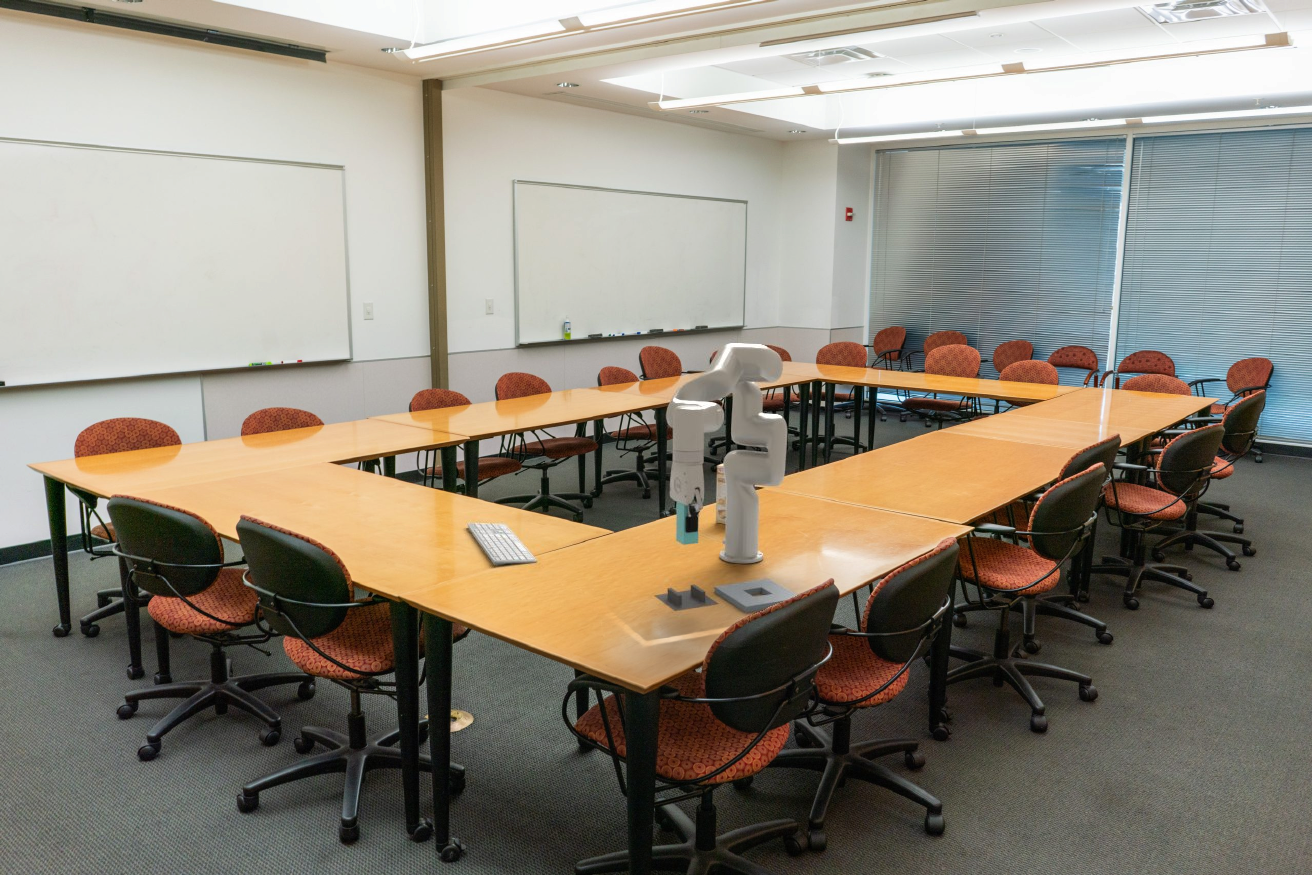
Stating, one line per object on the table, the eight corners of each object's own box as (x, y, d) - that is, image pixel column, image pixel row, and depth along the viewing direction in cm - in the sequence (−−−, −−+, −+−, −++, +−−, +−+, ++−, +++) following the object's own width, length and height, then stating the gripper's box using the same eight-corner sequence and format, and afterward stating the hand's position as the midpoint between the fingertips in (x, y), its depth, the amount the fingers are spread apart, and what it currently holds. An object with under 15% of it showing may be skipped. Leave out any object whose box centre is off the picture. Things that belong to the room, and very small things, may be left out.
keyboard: (537, 564, 263) (537, 556, 263) (494, 568, 259) (494, 560, 258) (505, 525, 304) (504, 518, 303) (467, 529, 299) (466, 522, 299)
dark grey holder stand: (654, 599, 233) (654, 585, 232) (696, 592, 238) (696, 579, 237) (675, 614, 222) (675, 600, 222) (718, 607, 227) (719, 594, 227)
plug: (676, 540, 228) (676, 501, 227) (690, 538, 230) (691, 499, 228) (683, 544, 225) (684, 504, 223) (698, 542, 227) (698, 503, 225)
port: (714, 595, 236) (714, 586, 235) (767, 587, 242) (768, 578, 242) (746, 616, 221) (746, 606, 221) (802, 607, 228) (802, 597, 228)
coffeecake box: (733, 525, 304) (735, 467, 300) (714, 522, 307) (715, 465, 304) (753, 516, 316) (755, 460, 313) (735, 513, 320) (736, 458, 316)
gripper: (659, 451, 230) (659, 523, 233) (690, 464, 215) (689, 540, 218) (686, 449, 233) (685, 520, 236) (718, 461, 218) (717, 536, 221)
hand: (687, 528), depth 227 cm, fingers closed on plug, 4 cm apart
